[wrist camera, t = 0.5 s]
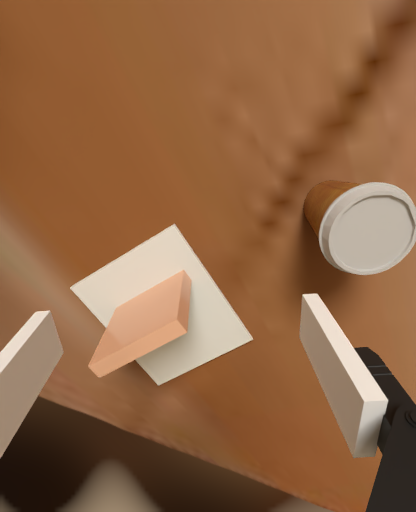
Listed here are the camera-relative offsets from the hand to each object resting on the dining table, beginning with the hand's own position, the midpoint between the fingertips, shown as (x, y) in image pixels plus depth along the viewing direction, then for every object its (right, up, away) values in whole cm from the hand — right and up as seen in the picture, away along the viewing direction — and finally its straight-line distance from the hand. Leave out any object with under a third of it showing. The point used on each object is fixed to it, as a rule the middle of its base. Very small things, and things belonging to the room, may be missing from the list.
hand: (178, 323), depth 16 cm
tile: (-6, -2, +29) cm, 29 cm away
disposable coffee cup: (+17, +10, +24) cm, 32 cm away
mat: (-5, -5, +31) cm, 31 cm away
